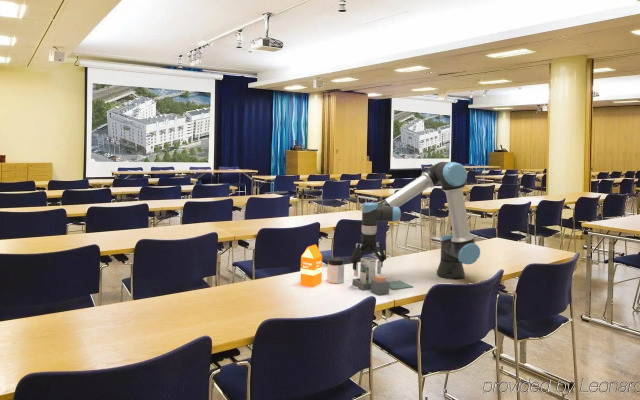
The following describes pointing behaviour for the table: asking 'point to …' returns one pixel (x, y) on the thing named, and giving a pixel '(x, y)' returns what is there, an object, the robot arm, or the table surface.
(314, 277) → the orange juice
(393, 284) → the rubber mat
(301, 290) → the table surface
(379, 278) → the peach square block
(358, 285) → the frame
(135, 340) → the table surface
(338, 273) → the jar
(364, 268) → the syrup box
